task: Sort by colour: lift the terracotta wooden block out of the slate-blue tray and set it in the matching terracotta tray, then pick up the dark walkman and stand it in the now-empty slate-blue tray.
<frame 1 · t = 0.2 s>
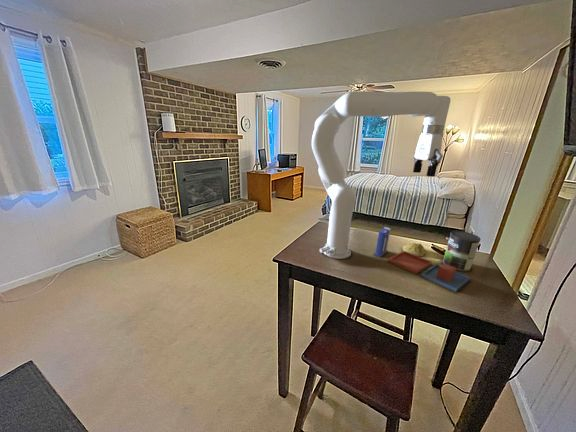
hand: (423, 174, 101), 37 cm above the table, tool pointing down, fingers open, 9 cm apart
slate tray: (444, 278, 94), on the table
coffee can: (456, 265, 104), on the table
terracotta tray: (409, 263, 104), on the table
fossil: (413, 252, 115), on the table
block: (445, 277, 93), point 1 cm above the table, touching slate tray
walkman: (380, 253, 112), on the table
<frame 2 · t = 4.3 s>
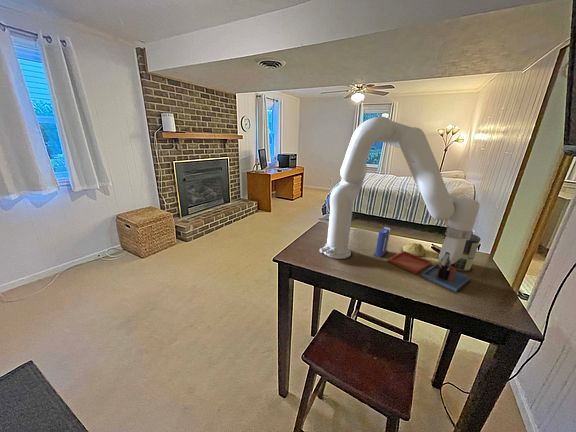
hand: (445, 275, 93), 1 cm above the table, tool pointing down, fingers closed on block, 4 cm apart
block: (445, 277, 93), point 1 cm above the table, touching gripper, slate tray
everything else where it was.
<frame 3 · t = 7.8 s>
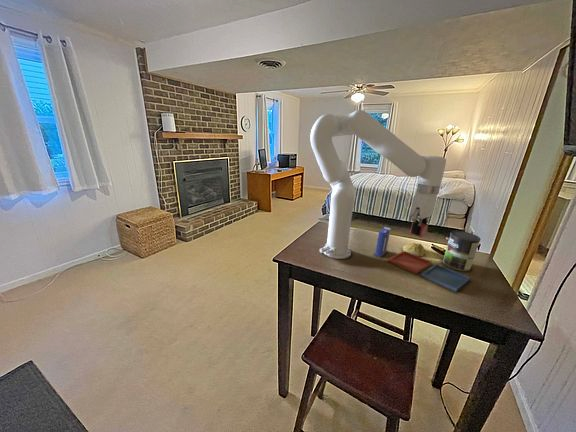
hand: (418, 232, 99), 15 cm above the table, tool pointing down, fingers closed on block, 4 cm apart
block: (417, 234, 99), point 14 cm above the table, touching gripper
everything else where it was.
when the fingers open (1 cm above the table, at t = 11.1 s): block stays where it is, resting on terracotta tray.
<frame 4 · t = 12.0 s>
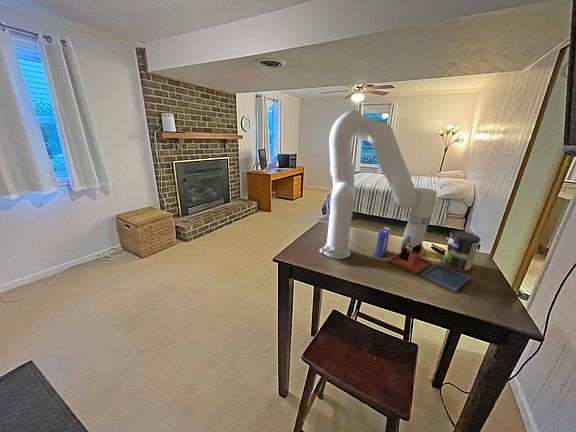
hand: (409, 256, 103), 3 cm above the table, tool pointing down, fingers open, 9 cm apart
block: (410, 262, 104), point 1 cm above the table, touching terracotta tray
everything else where it was.
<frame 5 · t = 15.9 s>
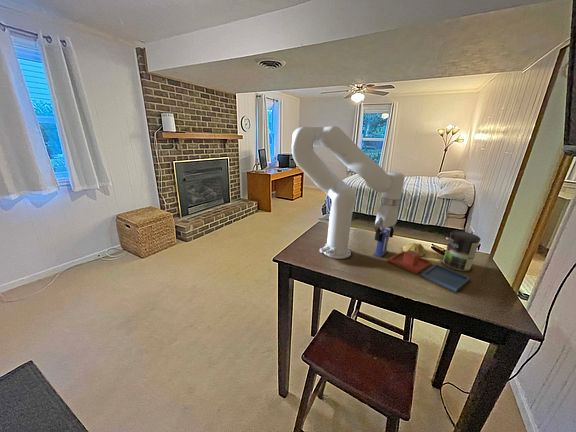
hand: (383, 238, 110), 8 cm above the table, tool pointing down, fingers closed on walkman, 8 cm apart
walkman: (380, 253, 112), on the table, touching gripper
everything else where it was.
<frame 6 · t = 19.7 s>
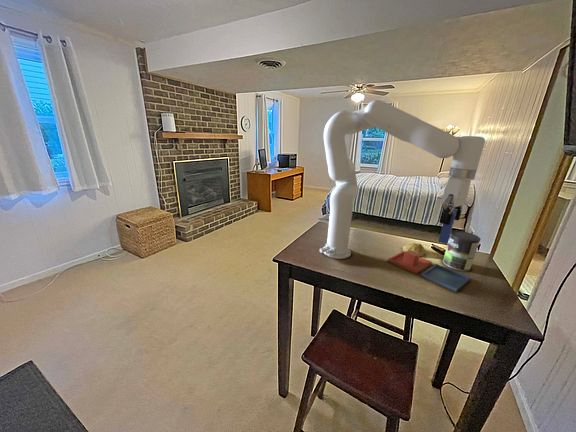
hand: (449, 221, 89), 23 cm above the table, tool pointing down, fingers closed on walkman, 8 cm apart
walkman: (443, 240, 91), point 15 cm above the table, touching gripper
everything else where it was.
when the fingers open (8 cm above the table, at t = 23.9 s): walkman stays where it is, resting on slate tray.
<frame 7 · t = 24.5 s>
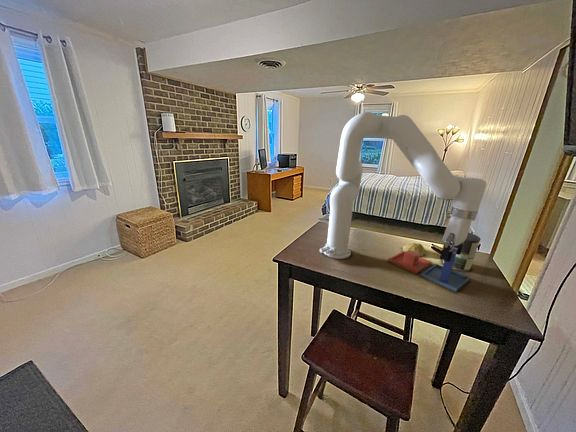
hand: (450, 256, 91), 10 cm above the table, tool pointing down, fingers open, 9 cm apart
walkman: (444, 277, 93), resting on slate tray
everything else where it was.
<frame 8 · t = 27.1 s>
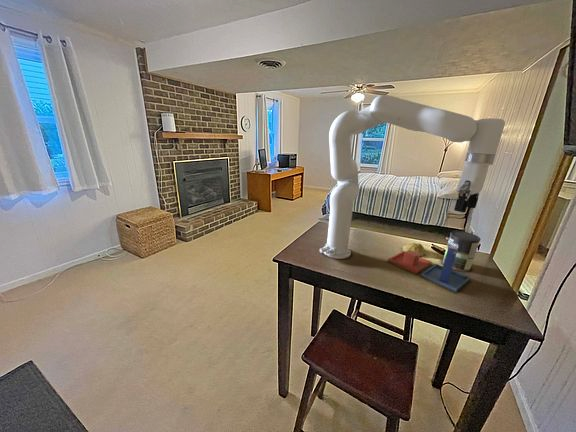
hand: (464, 209, 84), 28 cm above the table, tool pointing down, fingers open, 9 cm apart
nothing on the table moved.
at the end: block inside the target area on the terracotta tray (0.2 cm from its centre), point 0.6 cm above the terracotta tray's base; walkman inside the target area in the slate tray (0.1 cm from its centre), point 0.4 cm above the slate tray's base; walkman tilted 0° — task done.
